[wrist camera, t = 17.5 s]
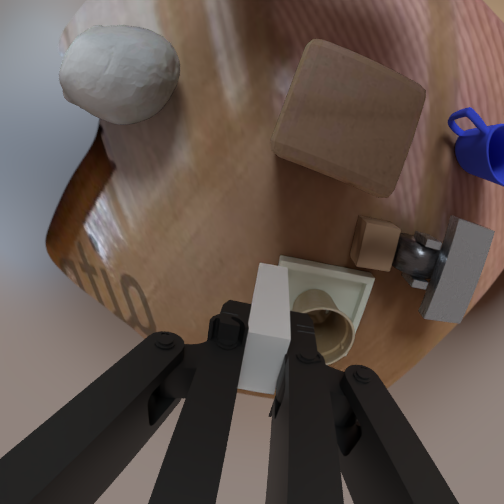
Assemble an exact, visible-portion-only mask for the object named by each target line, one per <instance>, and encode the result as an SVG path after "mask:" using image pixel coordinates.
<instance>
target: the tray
mask: <svg viewBox="0 0 504 504" xmlns="http://www.w3.org/2000/svg"><path fill="white" fill-rule="evenodd" d="M278 266H281V267H286V268H288V284H289V306H290V311H292V308H293V303H294V301H295V299H296V298H297V296H298V295H300V294H301V293H303V292H305V291H307V290H310V289H319V290H323V291H325V292H326V293H328V294H329V295H330V296H331V298H332V299H333V301H334V303H335V305H336V306H337V308H338V309H339V310H340V311H342V312H343V313H345V314H346V315H347V316H348V317H349V318H350V320H351V321H352V323H353V325H354V329H355V333H356V330H357V328H358V325H359V322H360V320H361V317H362V314H363V312H364V309H365V306H366V303H367V301H368V298H369V295H370V292H371V289H372V286H373V283H374V280H375V278H374V276H373V275H372V273H370V272H365V271H360V270H355V269H350V268H345V267H340V266H335V265H329V264H324V263H319V262H314V261H309V260H304V259H299V258H294V257H288V256H283V255H280V258H279V263H278ZM328 312H329V310H326V314H327V313H328ZM346 355H347V354H346ZM346 355H345V356H346Z"/></svg>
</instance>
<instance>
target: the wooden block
mask: <svg viewBox="0 0 504 504" xmlns="http://www.w3.org/2000/svg"><path fill="white" fill-rule="evenodd" d="M425 98H426V92H425V89H424V88H423V87H422V86H421V85H419V84H418V83H416V82H414V81H412V80H411V79H409V78H407V77H405V76H403V75H401V74H399V73H398V72H396V71H394V70H392V69H390V68H388V67H386V66H384V65H382V64H380V63H378V62H375V61H373V60H371V59H369V58H367V57H365V56H362V55H360V54H358V53H356V52H353V51H351V50H348V49H346V48H344V47H341V46H339V45H336V44H333V43H331V42H328V41H326V40H323V39H312V40H311V41H310V42H309V43H308V44H307V45H306V47H305V49H304V52H303V55H302V57H301V60H300V62H299V65H298V68H297V70H296V73H295V76H294V78H293V81H292V84H291V86H290V89H289V92H288V94H287V97H286V100H285V103H284V105H283V108H282V111H281V113H280V116H279V119H278V122H277V124H276V127H275V130H274V133H273V135H272V138H271V150H272V151H273V152H274V153H275V154H276V155H277V156H278V157H280V158H283V159H285V160H288V161H291V162H294V163H296V164H299V165H301V166H304V167H307V168H309V169H312V170H314V171H317V172H319V173H322V174H324V175H327V176H329V177H332V178H334V179H337V180H339V181H341V182H344V183H346V184H349V185H351V186H353V187H356V188H358V189H360V190H362V191H365V192H367V193H369V194H371V195H374V196H376V197H378V198H387V197H389V196H390V195H391V193H392V192H393V191H394V189H395V186H396V184H397V181H398V178H399V176H400V173H401V171H402V168H403V165H404V162H405V160H406V157H407V154H408V151H409V148H410V145H411V143H412V140H413V137H414V134H415V131H416V128H417V124H418V121H419V118H420V115H421V112H422V108H423V105H424V102H425Z"/></svg>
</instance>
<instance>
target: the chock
mask: <svg viewBox="0 0 504 504" xmlns="http://www.w3.org/2000/svg"><path fill="white" fill-rule="evenodd" d="M400 232H401V229H400V228H398V227H397V226H396V225H394V224H393V223H391V222H389V221H384V220H380V219H375V218H370V217H365V216H358V221H357V225H356V230H355V234H354V239H353V243H352V247H351V252H350V257H351V259H352V260H353V262H354V263H355V265H356V267H363V268H369V269H376V270H382V271H388V272H390V269H391V266H392V262H393V259H394V255H395V251H396V248H397V244H398V240H399V236H400Z"/></svg>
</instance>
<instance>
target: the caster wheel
mask: <svg viewBox="0 0 504 504" xmlns="http://www.w3.org/2000/svg"><path fill="white" fill-rule="evenodd" d="M494 232H495V231H493V230H491V229H489V228H487V227H484V226H481V225H478V224H476V223H473V222H470V221H467V220H464V219H461V218H458V217H455V216H452V215H451V216H450V220H449V224H448V227H447V231H446V234H445V238H444V241H443V244H442V242H440V241H439V240H437V239H435V238H434V237H432V236H431V235H429V234H426V233H422V232H419V231H415V233H414V235H410V234H405V233H400V236H399V240H398V244H397V248H396V251H395V255H394V259H393V262H392V266H394V267H395V268H397V269H398V270H400V271H402V276H403V278H404V279H405V280H406V281H407V282H408V283H409V285H410V286H411V287H414V288H420V289H425V290H426V288H427V286H428V288H427V290H426V293H425V295H424V298H423V300H422V303H421V305H420V308H419V310H418V311H419V313H420V314H421V315H422V317H423V318H424V319H429V320H436V321H444V322H452V323H461V321H462V318H463V316H464V314H465V312H466V309H467V307H468V305H469V303H470V300H471V298H472V295H473V293H474V290H475V288H476V285H477V283H478V280H479V278H480V275H481V272H482V269H483V267H484V264H485V261H486V258H487V255H488V252H489V249H490V245H491V242H492V239H493V236H494ZM441 245H442V247H441ZM424 278H425V279H430V278H431V280H430V282H429V285H428V282H427V281H426V280H425V279H424Z"/></svg>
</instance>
